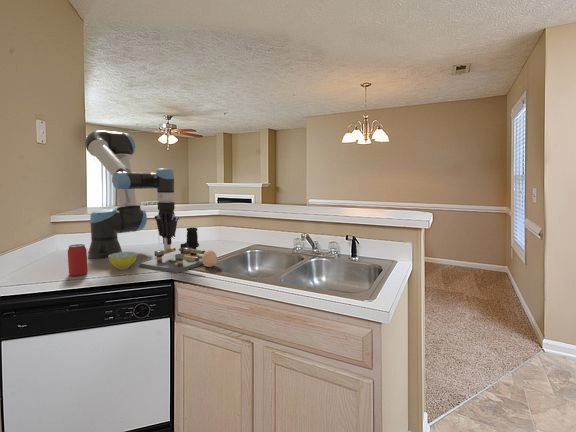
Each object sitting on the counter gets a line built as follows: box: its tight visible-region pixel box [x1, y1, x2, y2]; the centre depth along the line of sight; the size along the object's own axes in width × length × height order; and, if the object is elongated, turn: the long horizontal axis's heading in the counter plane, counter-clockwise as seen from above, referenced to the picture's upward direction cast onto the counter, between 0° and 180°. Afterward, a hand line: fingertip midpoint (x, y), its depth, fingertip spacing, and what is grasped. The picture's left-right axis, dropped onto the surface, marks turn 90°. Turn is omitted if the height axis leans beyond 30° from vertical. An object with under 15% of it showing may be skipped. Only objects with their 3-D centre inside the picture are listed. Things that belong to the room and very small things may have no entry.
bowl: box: [107, 251, 138, 271], centre depth 148 cm, size 11×12×6 cm
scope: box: [178, 227, 200, 256], centre depth 176 cm, size 8×14×10 cm
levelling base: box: [138, 254, 204, 274], centre depth 155 cm, size 22×20×2 cm
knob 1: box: [183, 247, 206, 256], centre depth 159 cm, size 12×4×5 cm, turn 66°
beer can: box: [67, 243, 89, 277], centre depth 137 cm, size 7×7×12 cm
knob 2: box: [174, 253, 200, 266], centre depth 146 cm, size 12×4×5 cm, turn 66°
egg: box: [201, 249, 218, 268], centre depth 152 cm, size 7×7×8 cm
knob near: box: [153, 247, 176, 262], centre depth 157 cm, size 12×4×5 cm, turn 156°
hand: (167, 250), depth 160 cm, fingers closed
